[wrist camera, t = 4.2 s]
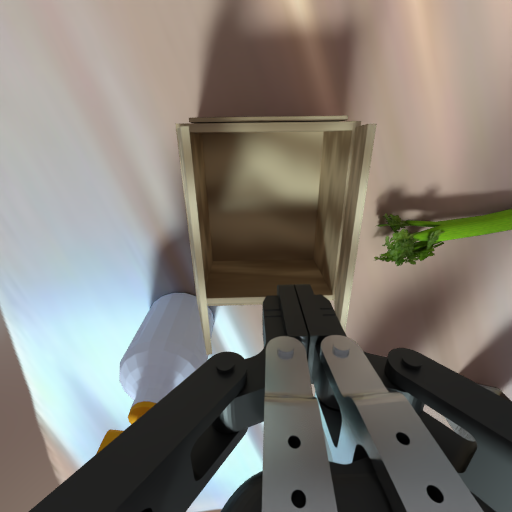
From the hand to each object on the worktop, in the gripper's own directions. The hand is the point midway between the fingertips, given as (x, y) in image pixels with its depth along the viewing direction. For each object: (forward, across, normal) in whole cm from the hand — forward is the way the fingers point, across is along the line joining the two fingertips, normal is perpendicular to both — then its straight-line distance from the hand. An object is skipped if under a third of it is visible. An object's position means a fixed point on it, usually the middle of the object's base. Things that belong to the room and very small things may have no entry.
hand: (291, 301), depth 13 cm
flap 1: (+12, +7, 0) cm, 14 cm away
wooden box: (+21, 0, 0) cm, 21 cm away
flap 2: (+12, -6, 0) cm, 13 cm away
